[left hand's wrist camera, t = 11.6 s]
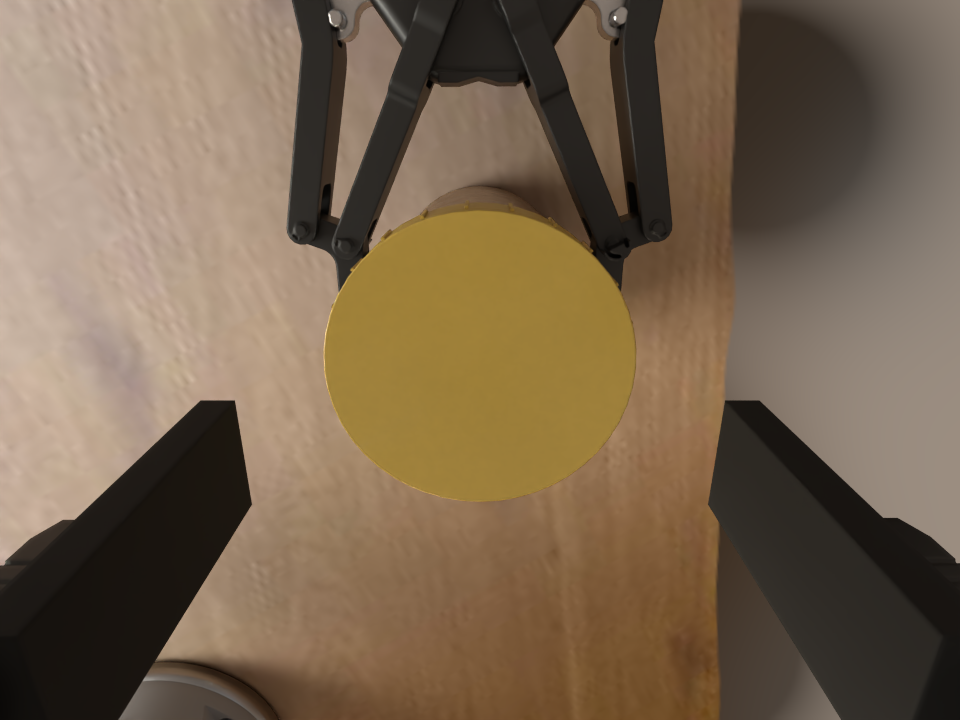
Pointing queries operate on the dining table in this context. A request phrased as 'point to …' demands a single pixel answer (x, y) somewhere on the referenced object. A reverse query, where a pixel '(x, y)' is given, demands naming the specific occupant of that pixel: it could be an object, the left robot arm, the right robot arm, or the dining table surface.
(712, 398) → the dining table surface
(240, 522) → the left robot arm
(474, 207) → the lid
